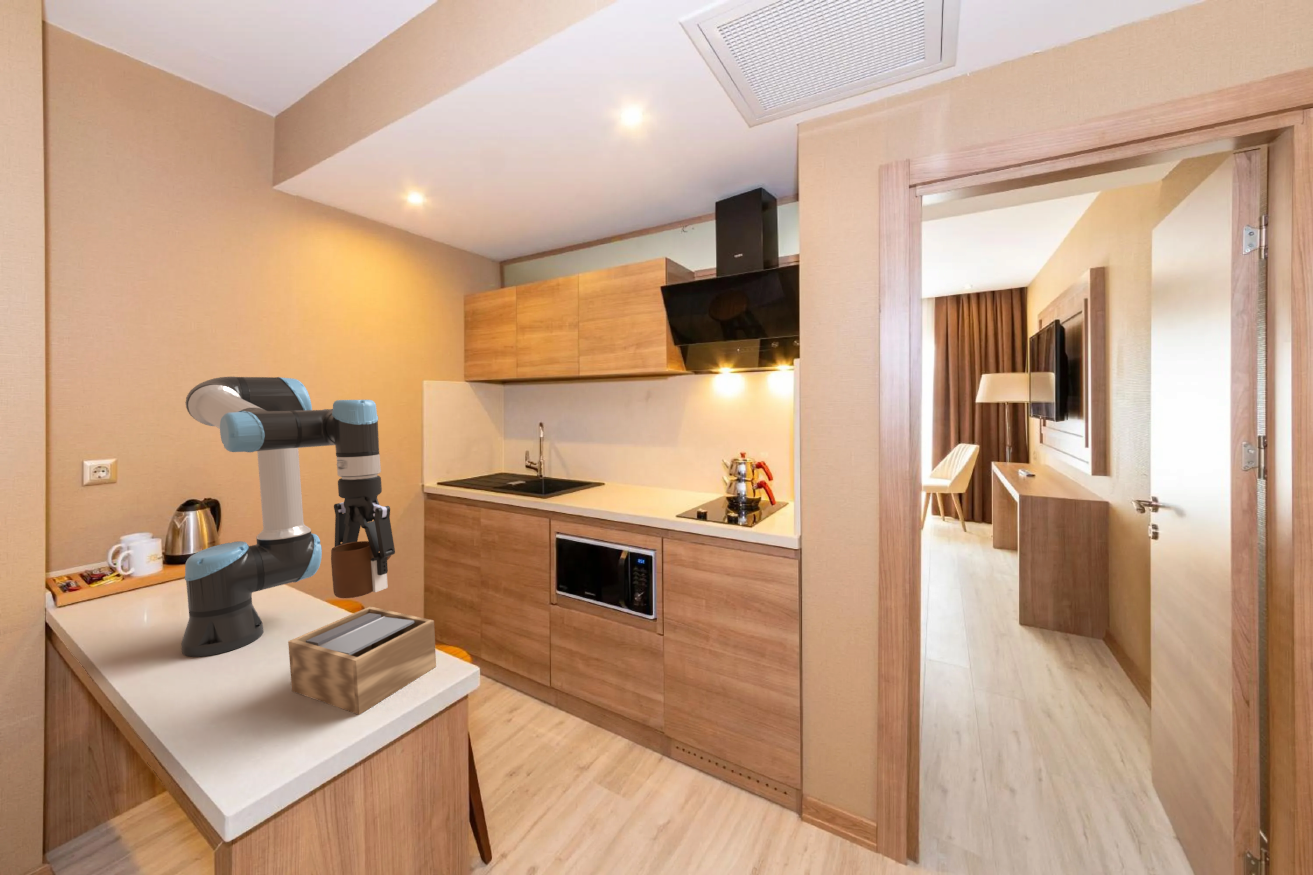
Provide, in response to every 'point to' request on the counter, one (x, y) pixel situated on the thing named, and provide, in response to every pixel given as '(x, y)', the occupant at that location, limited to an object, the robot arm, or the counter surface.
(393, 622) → the trapdoor
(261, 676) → the counter surface
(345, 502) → the robot arm
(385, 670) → the trapdoor frame
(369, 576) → the mug
